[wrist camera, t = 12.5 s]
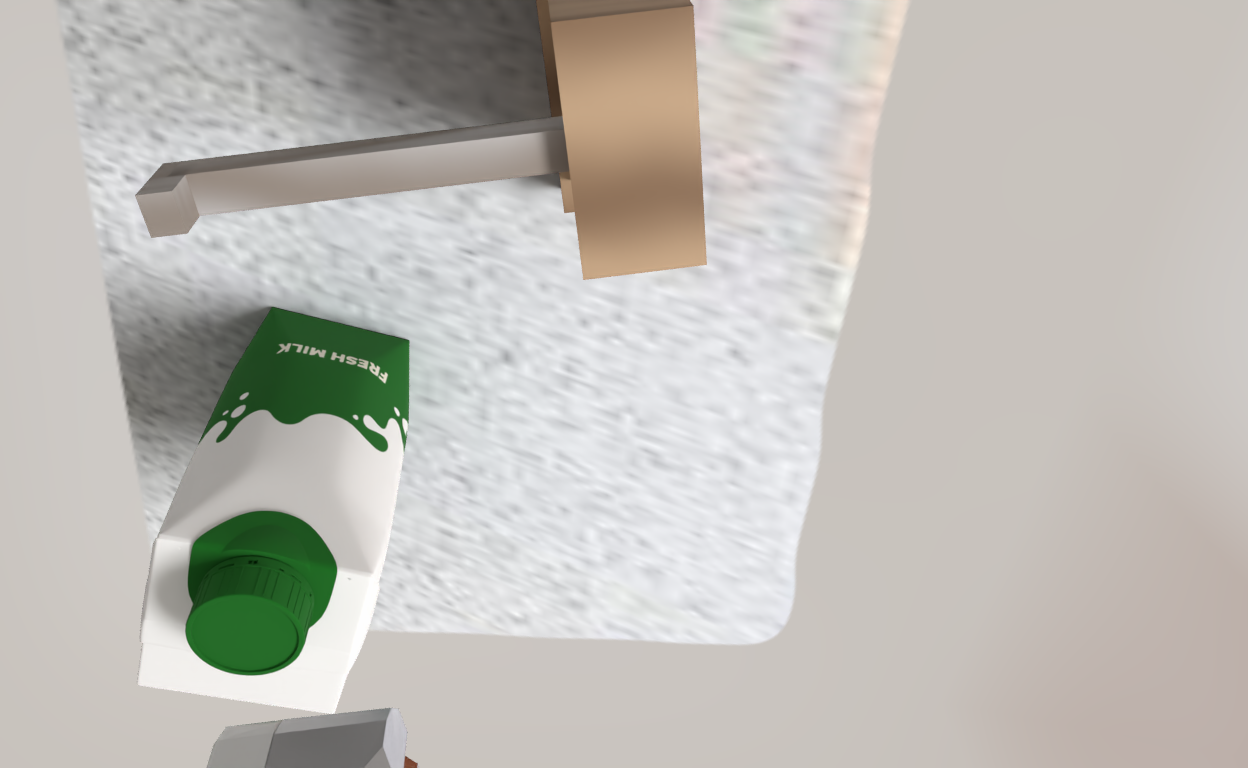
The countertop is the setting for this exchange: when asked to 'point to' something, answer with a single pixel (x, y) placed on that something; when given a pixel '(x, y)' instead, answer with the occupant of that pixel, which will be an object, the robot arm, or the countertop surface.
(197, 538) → the milk carton
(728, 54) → the countertop surface
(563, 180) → the wooden peg hook block
